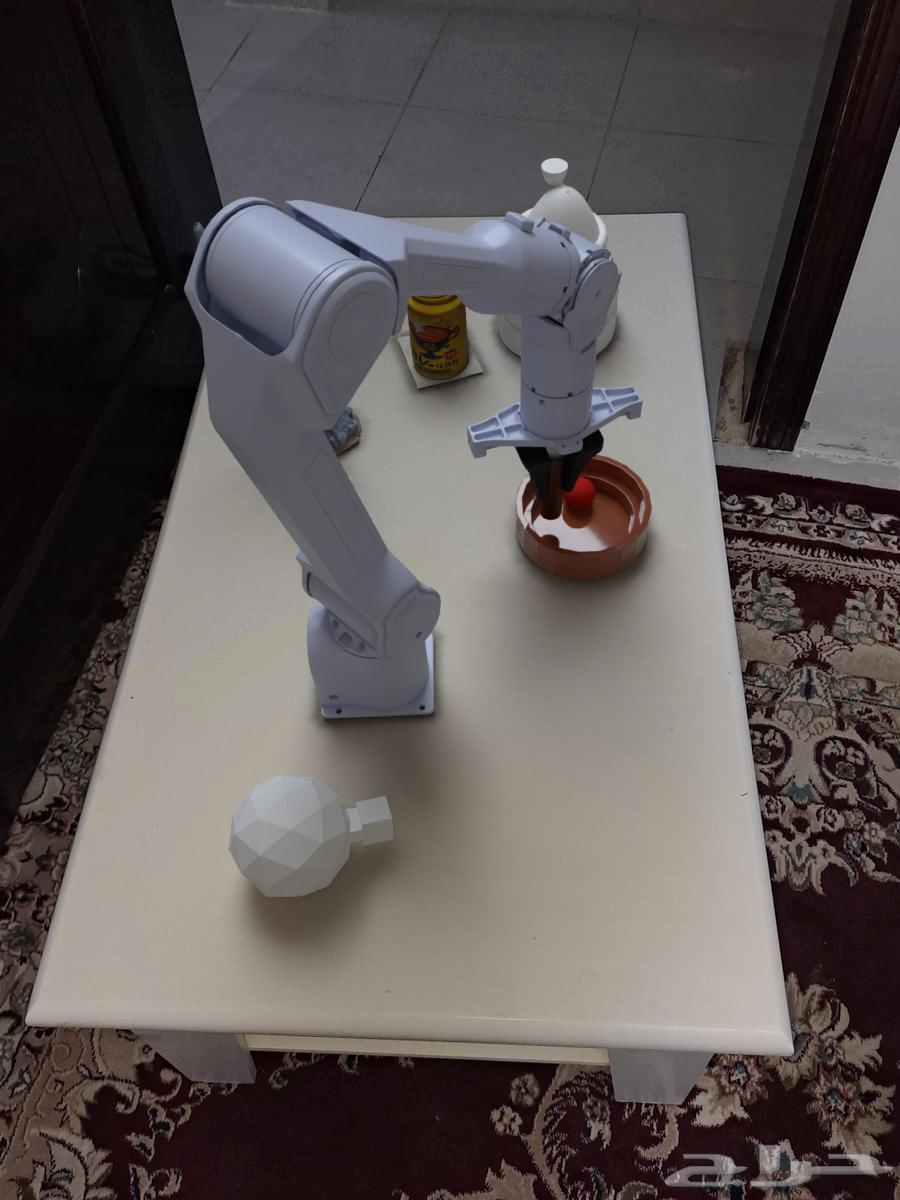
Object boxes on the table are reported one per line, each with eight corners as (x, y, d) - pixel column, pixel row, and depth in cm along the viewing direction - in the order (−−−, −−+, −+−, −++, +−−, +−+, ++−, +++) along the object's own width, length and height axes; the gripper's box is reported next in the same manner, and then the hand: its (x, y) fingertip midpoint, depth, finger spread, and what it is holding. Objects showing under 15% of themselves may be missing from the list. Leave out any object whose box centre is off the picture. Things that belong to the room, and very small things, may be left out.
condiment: (418, 390, 105) (409, 297, 95) (397, 339, 110) (386, 246, 100) (483, 373, 106) (480, 280, 96) (459, 323, 111) (455, 230, 101)
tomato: (563, 516, 94) (565, 495, 91) (561, 492, 96) (562, 471, 93) (595, 514, 94) (598, 494, 91) (592, 490, 95) (594, 469, 93)
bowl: (519, 585, 90) (520, 559, 87) (512, 484, 97) (512, 456, 94) (654, 579, 90) (660, 553, 87) (637, 478, 97) (642, 450, 94)
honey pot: (479, 307, 112) (475, 159, 98) (581, 275, 115) (592, 126, 100) (528, 379, 105) (531, 231, 91) (636, 343, 108) (656, 193, 93)
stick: (543, 522, 91) (546, 463, 84) (536, 506, 92) (538, 446, 85) (564, 517, 91) (568, 457, 84) (557, 501, 92) (560, 441, 85)
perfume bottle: (242, 936, 72) (404, 899, 74) (224, 853, 66) (399, 816, 69) (231, 845, 78) (380, 813, 81) (214, 763, 73) (374, 732, 76)
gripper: (483, 430, 74) (487, 541, 85) (664, 385, 76) (645, 500, 87) (457, 368, 78) (464, 482, 89) (629, 327, 80) (615, 444, 91)
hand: (551, 487), depth 89 cm, fingers closed on stick, 2 cm apart
